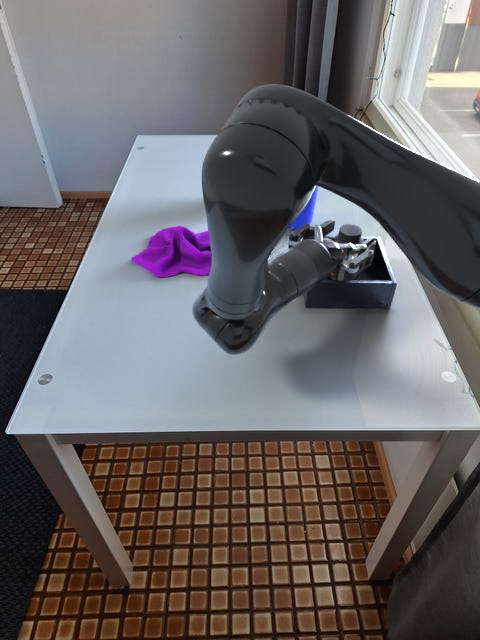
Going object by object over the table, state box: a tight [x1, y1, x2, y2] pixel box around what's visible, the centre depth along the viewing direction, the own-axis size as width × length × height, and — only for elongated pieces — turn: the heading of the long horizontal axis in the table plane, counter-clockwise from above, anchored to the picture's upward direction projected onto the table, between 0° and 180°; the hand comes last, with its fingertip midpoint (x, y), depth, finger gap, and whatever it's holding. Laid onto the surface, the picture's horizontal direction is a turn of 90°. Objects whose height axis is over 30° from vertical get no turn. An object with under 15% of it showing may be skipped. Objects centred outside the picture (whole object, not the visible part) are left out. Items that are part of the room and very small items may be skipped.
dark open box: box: [303, 235, 398, 310], centre depth 91 cm, size 16×16×6 cm
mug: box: [288, 186, 320, 230], centre depth 106 cm, size 8×12×10 cm
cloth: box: [130, 225, 211, 278], centre depth 99 cm, size 22×19×6 cm
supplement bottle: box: [328, 223, 364, 280], centre depth 89 cm, size 6×6×11 cm
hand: (352, 232), depth 86 cm, fingers open, 8 cm apart
